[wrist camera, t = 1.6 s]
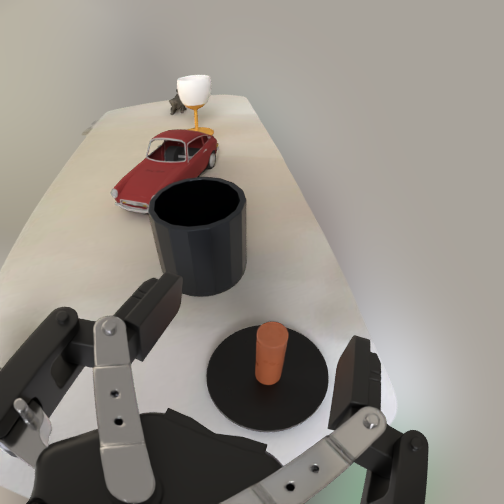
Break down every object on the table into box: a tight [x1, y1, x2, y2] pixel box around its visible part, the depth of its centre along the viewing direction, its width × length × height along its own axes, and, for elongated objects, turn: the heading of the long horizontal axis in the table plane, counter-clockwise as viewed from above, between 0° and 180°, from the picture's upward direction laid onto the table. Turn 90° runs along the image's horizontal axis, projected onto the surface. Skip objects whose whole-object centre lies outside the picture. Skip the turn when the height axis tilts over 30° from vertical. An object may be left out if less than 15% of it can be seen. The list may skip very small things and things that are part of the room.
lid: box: [206, 322, 328, 432], centre depth 28 cm, size 12×12×9 cm
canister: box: [148, 177, 246, 297], centre depth 40 cm, size 11×11×10 cm
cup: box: [177, 75, 214, 135], centre depth 76 cm, size 9×9×16 cm
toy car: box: [111, 129, 219, 213], centre depth 57 cm, size 11×25×10 cm, turn 162°
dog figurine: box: [169, 89, 186, 115], centre depth 95 cm, size 12×6×7 cm, turn 7°
